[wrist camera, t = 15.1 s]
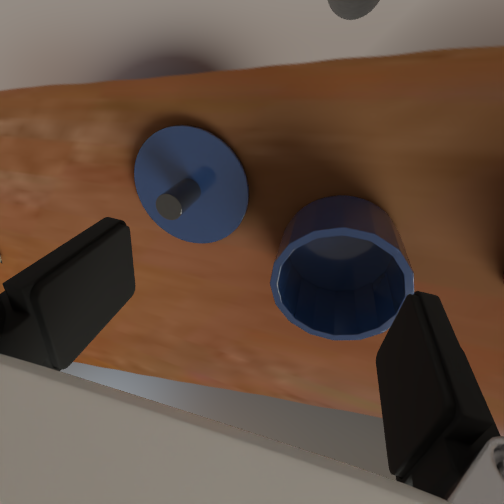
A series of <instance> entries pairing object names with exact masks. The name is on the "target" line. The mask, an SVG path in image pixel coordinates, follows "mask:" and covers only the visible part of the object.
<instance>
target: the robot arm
mask: <svg viewBox="0 0 504 504" xmlns="http://www.w3.org/2000/svg"><path fill="white" fill-rule="evenodd" d="M3 286H4V289H5V291H4V292H2V293H1V294H0V504H504V437H503V436H500V434H499V431H498V429H497V427H496V424H495V422H494V420H493V417H492V415H491V413H490V411H489V408H488V406H487V404H486V401H485V399H484V397H483V395H482V392H481V390H480V388H479V385H478V383H477V381H476V378H475V376H474V374H473V372H472V369H471V367H470V365H469V362H468V360H467V358H466V356H465V353H464V351H463V350H462V348H461V347H460V345H459V343H458V340H457V338H456V336H455V333H454V331H453V329H452V326H451V324H450V322H449V319H448V317H447V315H446V312H445V310H444V308H443V305H442V303H441V301H440V299H439V297H438V296H436V295H432V294H428V293H424V292H420V291H416V292H415V293H414V294H413V295H412V294H408V295H407V296H406V298H405V300H404V302H403V304H402V306H401V308H400V310H399V312H398V314H397V315H396V317H395V319H394V321H393V323H392V325H391V327H390V329H389V331H388V333H387V335H386V337H385V339H384V341H383V343H382V345H381V347H380V349H379V350H378V353H377V357H376V367H377V375H378V383H379V392H380V400H381V408H382V416H383V423H384V432H385V440H386V449H387V457H388V464H389V470H390V472H391V474H393V475H396V481H395V480H393V479H389V478H387V477H384V476H381V475H378V474H375V473H372V472H369V471H366V470H364V469H361V468H358V467H355V466H352V465H349V464H346V463H343V462H340V461H337V460H335V459H331V458H328V457H325V456H322V455H319V454H316V453H313V452H310V451H307V450H304V449H301V448H298V447H294V446H292V445H288V444H285V443H282V442H279V441H276V440H273V439H270V438H267V437H264V436H261V435H258V434H254V433H252V432H249V431H245V430H242V429H239V428H236V427H233V426H230V425H227V424H223V423H221V422H218V421H214V420H211V419H208V418H205V417H202V416H199V415H196V414H193V413H190V412H186V411H183V410H180V409H177V408H173V407H171V406H168V405H164V404H161V403H158V402H155V401H152V400H149V399H146V398H142V397H139V396H136V395H133V394H130V393H127V392H124V391H121V390H117V389H114V388H111V387H108V386H104V385H101V384H98V383H95V382H92V381H89V380H85V379H82V378H79V377H76V376H72V375H70V374H66V373H63V372H60V370H61V369H65V368H67V367H68V366H69V365H70V364H71V363H72V362H73V361H74V360H75V359H76V358H77V357H78V355H79V354H80V353H81V352H82V351H83V350H84V349H85V348H86V347H87V345H88V344H89V343H90V342H91V341H92V340H93V339H94V338H95V337H96V335H97V334H98V333H99V332H100V331H101V330H102V329H103V328H104V327H105V326H106V324H107V323H108V322H109V321H110V320H111V319H112V318H113V317H114V316H115V314H116V313H117V312H118V311H119V310H120V309H121V308H122V307H123V306H124V305H125V303H126V302H127V301H128V300H129V299H130V298H131V297H132V295H133V294H134V291H135V278H134V267H133V257H132V247H131V236H130V229H129V227H128V226H126V223H125V222H124V221H122V220H118V219H114V218H110V217H106V218H104V219H102V220H100V221H99V222H97V223H96V224H94V225H93V226H91V227H90V228H88V229H86V230H85V231H83V232H82V233H80V234H79V235H77V236H76V237H74V238H72V239H71V240H69V241H68V242H66V243H65V244H63V245H62V246H60V247H58V248H57V249H55V250H54V251H52V252H51V253H49V254H48V255H46V256H44V257H43V258H41V259H40V260H38V261H37V262H35V263H34V264H32V265H31V266H29V267H27V268H26V269H24V270H23V271H21V272H20V273H18V274H17V275H15V276H13V277H12V278H10V279H9V280H7V281H6V282H4V283H3Z"/></svg>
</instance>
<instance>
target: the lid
mask: <svg viewBox="0 0 504 504" xmlns="http://www.w3.org/2000/svg"><path fill="white" fill-rule="evenodd" d="M134 179H135V186H136V190H137V193H138V196H139V199H140V201H141V203H142V205H143V207H144V208H145V210H146V212H147V213H148V214H149V216H150V217H151V218H152V219H153V220H154V221H155V223H156V224H157V225H159V226H160V227H161V228H162V229H163V230H165V231H166V232H168V233H169V234H171V235H173V236H175V237H177V238H179V239H181V240H185V241H188V242H193V243H210V242H215V241H218V240H221V239H223V238H225V237H227V236H228V235H230V234H231V233H232V232H233V231H234V230H235V229H236V228H237V227H238V226H239V224H240V223H241V221H242V220H243V218H244V216H245V213H246V211H247V207H248V202H249V185H248V180H247V176H246V173H245V170H244V168H243V166H242V164H241V162H240V160H239V159H238V157H237V156H236V154H235V153H234V152H233V150H232V149H231V148H230V147H229V146H228V145H227V144H226V143H225V142H224V141H223V140H221V139H220V138H219V137H217V136H216V135H214V134H213V133H211V132H209V131H207V130H204V129H202V128H199V127H195V126H190V125H175V126H170V127H167V128H164V129H161V130H159V131H157V132H156V133H154V134H153V135H151V136H150V137H149V138H148V139H147V140H146V141H145V142H144V144H143V145H142V147H141V148H140V150H139V153H138V155H137V158H136V162H135V169H134Z"/></svg>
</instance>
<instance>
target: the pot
mask: <svg viewBox="0 0 504 504" xmlns="http://www.w3.org/2000/svg"><path fill="white" fill-rule="evenodd" d="M270 286H271V290H272V293H273V297H274V300H275V304H276V305H277V307H278V308H279V309H280V310H281V311H282V313H283V314H284V315H285V316H286V318H287V319H288V320H289V321H290V322H291V323H293V324H295V325H296V326H298V327H299V328H301V329H303V330H304V331H306V332H308V333H310V334H312V335H316V336H320V337H323V338H327V339H331V340H361V339H364V338H367V337H371V336H374V335H377V334H380V333H383V332H385V331H386V330H387V329H389V328H390V327H391V325H392V323H393V321H394V319H395V317H396V315H397V314H398V312H399V310H400V308H401V306H402V304H403V302H404V300H405V298H406V296H407V295H408V294H412V295H413V294H414V273H413V270H412V267H411V264H410V261H409V259H408V256H407V253H406V250H405V248H404V245H403V242H402V239H401V236H400V234H399V232H398V230H397V228H396V227H395V225H394V223H393V221H392V220H391V218H390V217H389V215H388V214H387V213H385V211H383V210H382V209H381V208H380V207H378V206H377V205H375V204H373V203H372V202H369V201H367V200H365V199H362V198H358V197H353V196H330V197H326V198H322V199H319V200H316V201H314V202H312V203H310V204H308V205H307V206H305V207H304V208H302V209H301V210H300V211H298V212H297V214H296V215H295V216H294V217H293V218H292V220H291V221H290V223H289V224H288V226H287V227H286V229H285V232H284V235H283V238H282V241H281V244H280V247H279V250H278V253H277V256H276V259H275V262H274V265H273V270H272V275H271V280H270Z"/></svg>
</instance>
